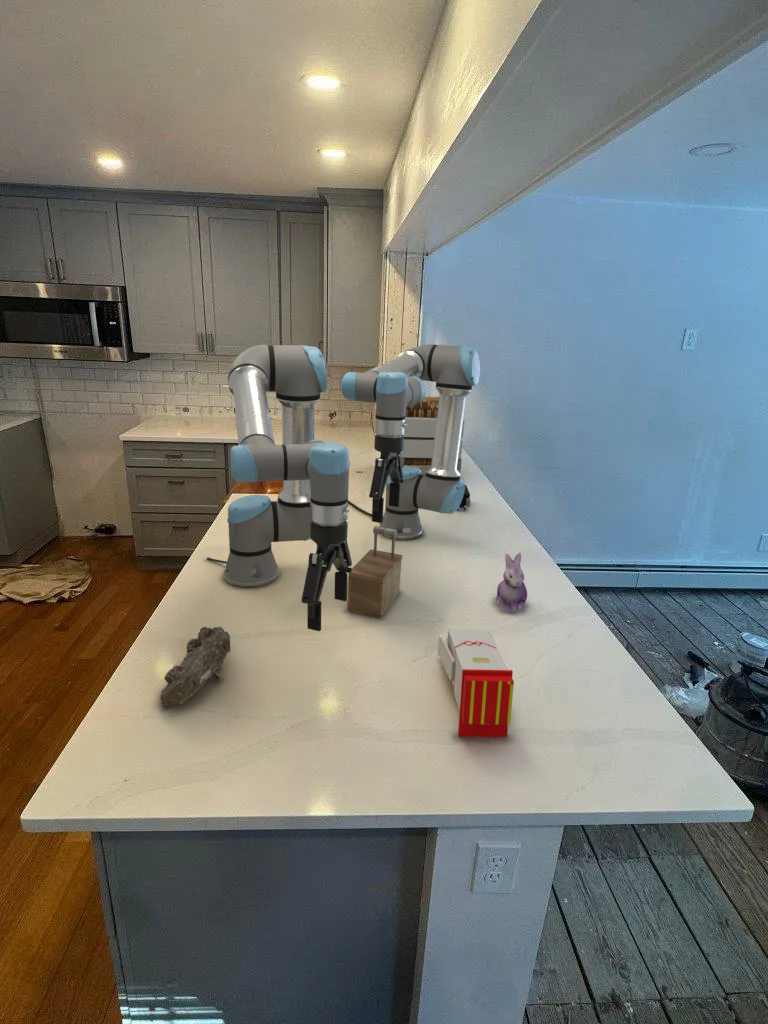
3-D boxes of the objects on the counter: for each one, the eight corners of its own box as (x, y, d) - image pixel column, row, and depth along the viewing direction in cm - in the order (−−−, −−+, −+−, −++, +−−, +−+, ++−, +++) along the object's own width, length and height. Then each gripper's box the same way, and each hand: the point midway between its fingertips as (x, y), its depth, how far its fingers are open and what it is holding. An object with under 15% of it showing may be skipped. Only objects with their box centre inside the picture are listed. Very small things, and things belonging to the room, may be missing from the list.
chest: (368, 586, 162) (369, 553, 158) (399, 592, 159) (401, 559, 155) (347, 611, 148) (348, 576, 144) (381, 618, 145) (382, 583, 142)
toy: (488, 613, 130) (523, 677, 101) (484, 667, 133) (517, 744, 104) (435, 612, 130) (455, 676, 101) (432, 666, 133) (451, 743, 103)
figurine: (509, 617, 148) (516, 565, 143) (485, 599, 156) (491, 550, 151) (537, 610, 152) (544, 559, 147) (512, 593, 161) (519, 544, 156)
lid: (370, 553, 159) (371, 522, 156) (402, 558, 156) (403, 528, 153) (348, 576, 144) (349, 543, 141) (382, 583, 142) (384, 550, 139)
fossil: (184, 629, 128) (231, 598, 123) (214, 657, 131) (261, 628, 126) (138, 700, 109) (191, 667, 104) (173, 731, 112) (227, 701, 107)
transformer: (382, 463, 289) (386, 382, 275) (445, 464, 293) (451, 384, 279) (390, 482, 257) (394, 392, 243) (460, 483, 261) (468, 394, 247)
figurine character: (470, 515, 225) (465, 499, 238) (472, 498, 221) (467, 483, 235) (453, 515, 224) (449, 499, 238) (455, 497, 221) (451, 482, 234)
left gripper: (319, 546, 102) (319, 647, 109) (368, 505, 124) (365, 591, 131) (282, 539, 104) (284, 639, 111) (336, 500, 126) (335, 585, 133)
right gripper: (387, 446, 131) (383, 531, 139) (417, 427, 154) (412, 501, 161) (357, 443, 134) (355, 526, 141) (391, 425, 156) (387, 498, 163)
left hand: (328, 613), depth 121 cm, fingers open, 13 cm apart
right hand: (385, 513), depth 151 cm, fingers open, 13 cm apart
